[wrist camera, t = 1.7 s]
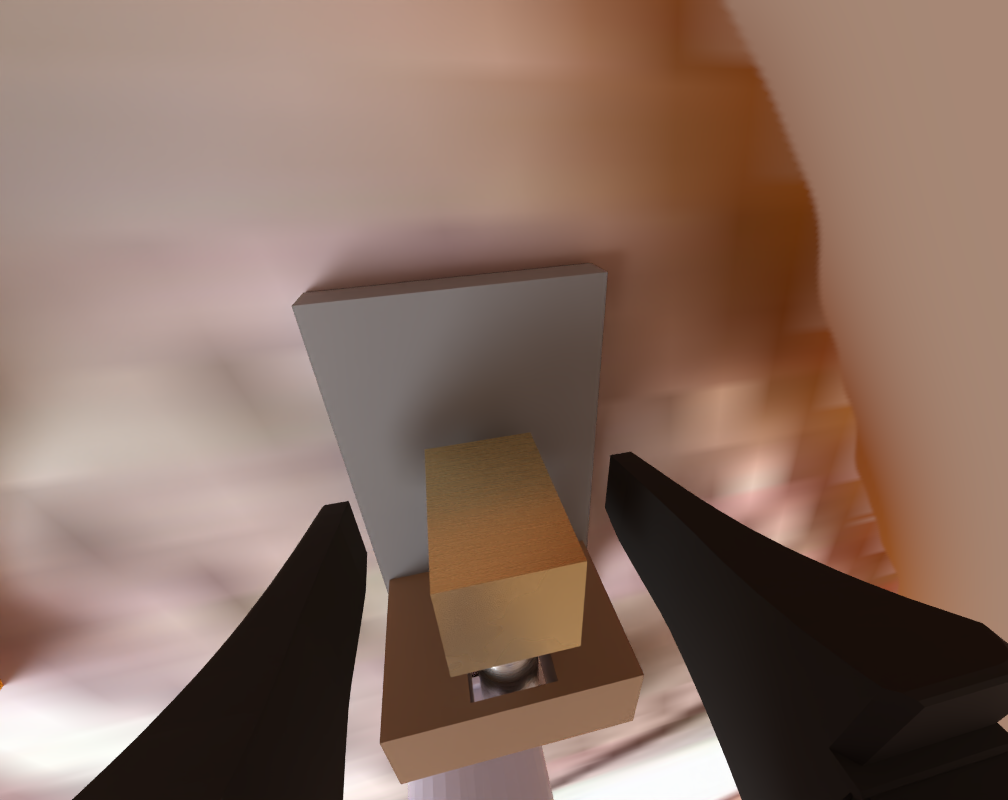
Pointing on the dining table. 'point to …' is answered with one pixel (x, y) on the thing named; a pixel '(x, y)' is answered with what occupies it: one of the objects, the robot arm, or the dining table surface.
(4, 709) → the dining table surface
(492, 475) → the pin
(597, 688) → the eye block
